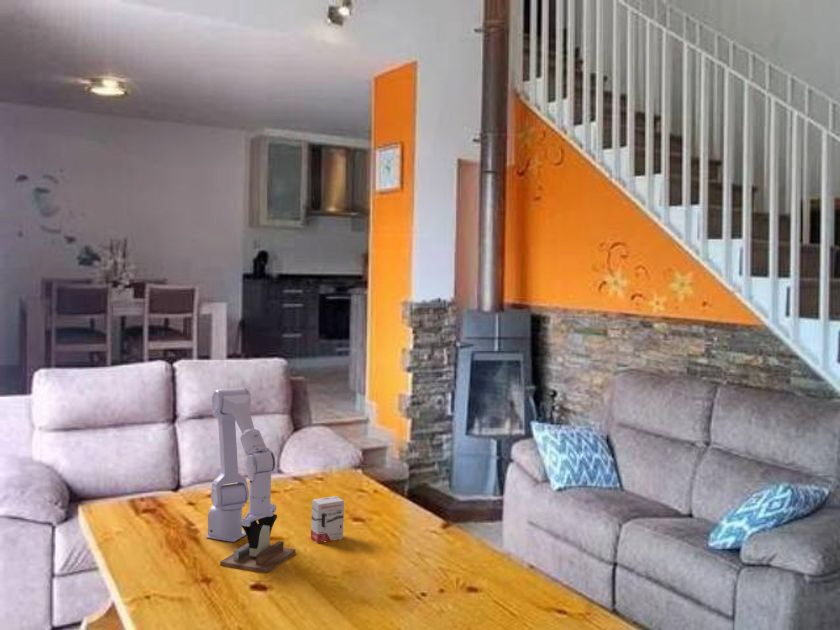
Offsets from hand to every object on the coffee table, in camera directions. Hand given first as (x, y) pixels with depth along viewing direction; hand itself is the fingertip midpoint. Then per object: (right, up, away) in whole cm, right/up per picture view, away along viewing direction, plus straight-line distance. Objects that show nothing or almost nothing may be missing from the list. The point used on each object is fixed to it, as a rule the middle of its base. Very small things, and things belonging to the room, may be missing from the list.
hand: (259, 544), depth 213 cm
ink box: (+16, -4, +18) cm, 25 cm away
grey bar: (-3, -4, +1) cm, 5 cm away
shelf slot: (0, -4, 0) cm, 4 cm away
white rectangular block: (0, -2, 0) cm, 2 cm away
